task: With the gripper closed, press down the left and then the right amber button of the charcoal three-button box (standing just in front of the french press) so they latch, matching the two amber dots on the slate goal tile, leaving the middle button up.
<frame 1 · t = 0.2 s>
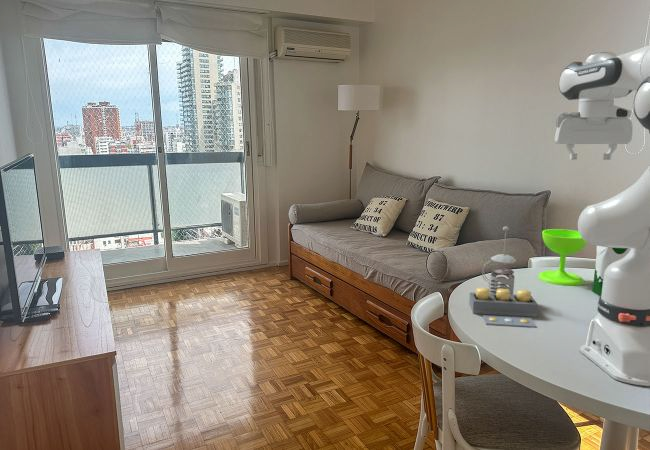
hand: (589, 159, 136), 47 cm above the table, fingers open, 8 cm apart
milk carton: (607, 295, 157), on the table
right button: (523, 296, 142), point 5 cm above the table, slide at 0.0 cm
french press: (497, 297, 156), on the table
button board: (501, 310, 144), on the table
middle button: (502, 295, 143), point 5 cm above the table, slide at 0.0 cm
wineglass: (560, 279, 174), on the table
left button: (482, 294, 144), point 5 cm above the table, slide at 0.0 cm
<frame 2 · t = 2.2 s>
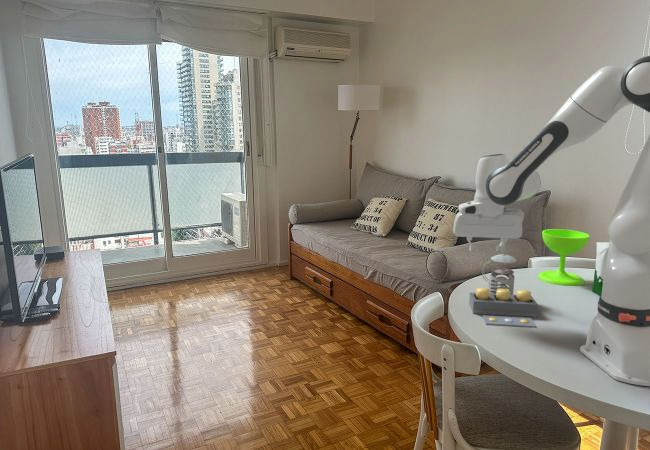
hand: (485, 250, 141), 19 cm above the table, fingers open, 7 cm apart
nothing on the table moved.
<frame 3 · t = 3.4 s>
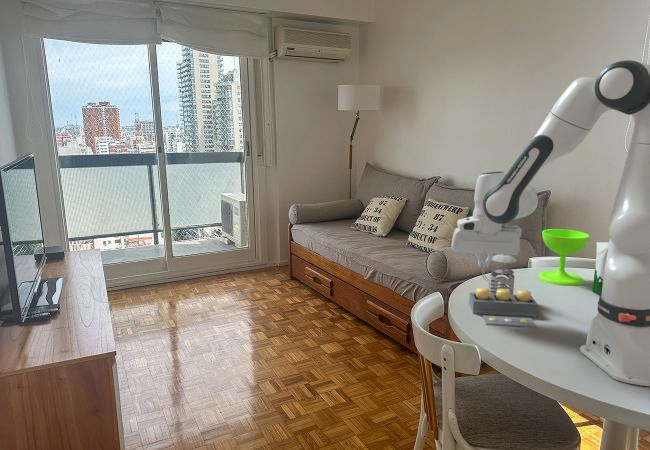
hand: (483, 266, 143), 14 cm above the table, fingers closed
nothing on the table moved.
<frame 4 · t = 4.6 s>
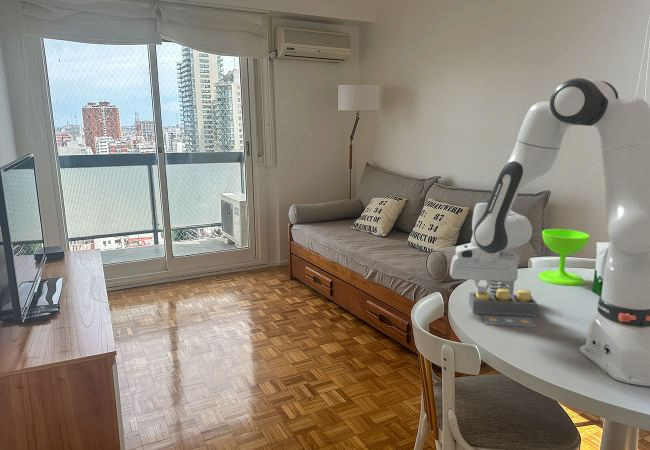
hand: (481, 292, 144), 5 cm above the table, fingers closed
left button: (482, 297, 145), point 4 cm above the table, slide at 1.1 cm, touching gripper
everything else where it was.
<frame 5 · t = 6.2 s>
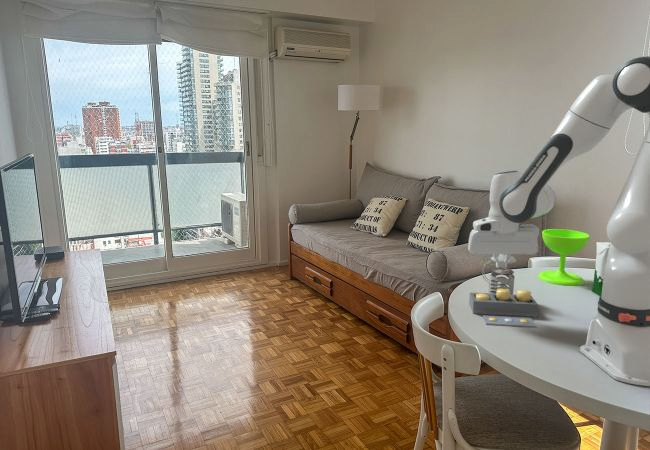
hand: (501, 267, 141), 14 cm above the table, fingers closed
left button: (482, 300, 145), point 3 cm above the table, slide at 2.0 cm
everything else where it was.
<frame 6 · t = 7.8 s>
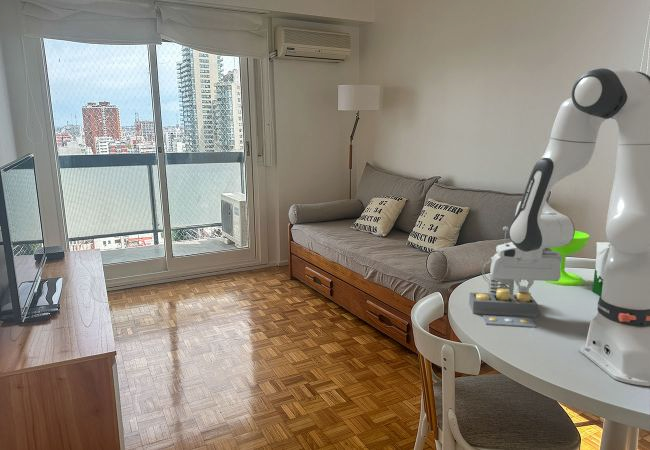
hand: (522, 292, 142), 6 cm above the table, fingers closed
right button: (523, 297, 142), point 5 cm above the table, slide at 0.4 cm, touching gripper
everything else where it was.
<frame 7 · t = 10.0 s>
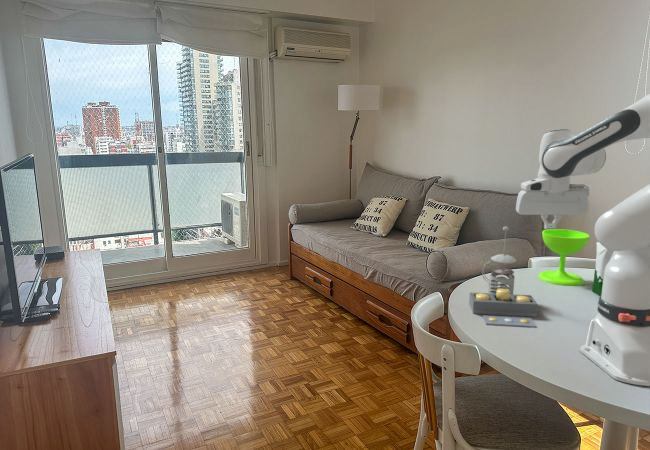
hand: (550, 228, 140), 26 cm above the table, fingers closed
right button: (523, 302, 143), point 3 cm above the table, slide at 2.0 cm
everything else where it was.
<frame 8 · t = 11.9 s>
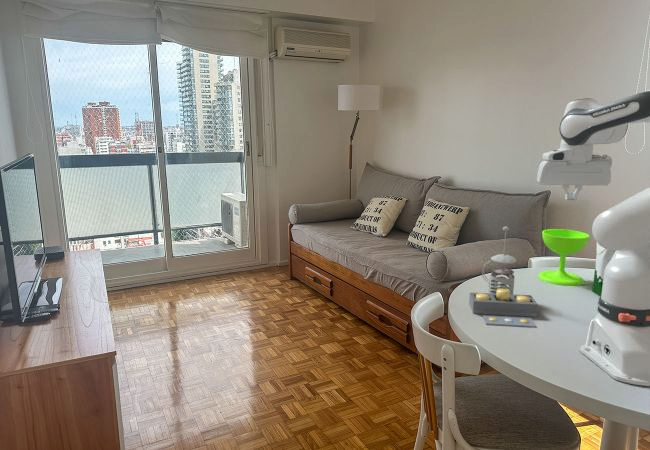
hand: (570, 199, 140), 35 cm above the table, fingers closed
nothing on the table moved.
at the end: left button slide at 2.0 cm; right button slide at 2.0 cm; middle button slide at 0.0 cm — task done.
